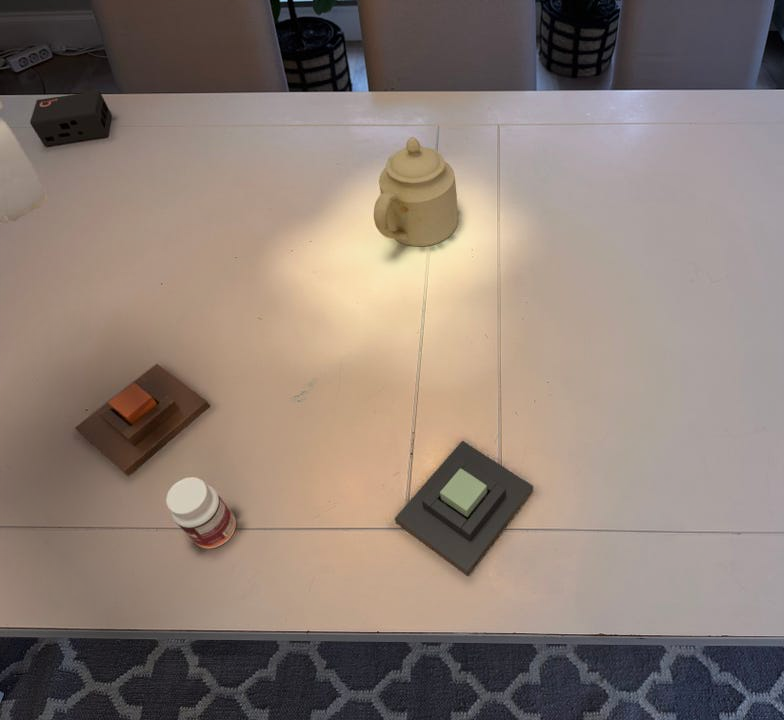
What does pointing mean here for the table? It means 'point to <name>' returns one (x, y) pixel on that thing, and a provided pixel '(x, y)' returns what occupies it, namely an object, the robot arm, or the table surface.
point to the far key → (132, 403)
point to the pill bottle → (200, 512)
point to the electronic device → (71, 118)
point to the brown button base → (144, 421)
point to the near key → (463, 492)
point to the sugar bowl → (417, 197)
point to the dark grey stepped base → (451, 528)
